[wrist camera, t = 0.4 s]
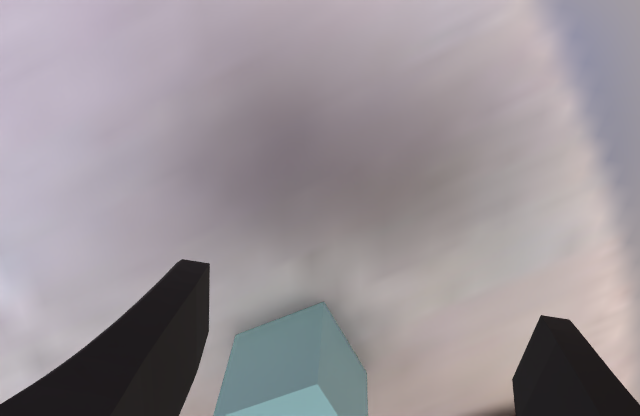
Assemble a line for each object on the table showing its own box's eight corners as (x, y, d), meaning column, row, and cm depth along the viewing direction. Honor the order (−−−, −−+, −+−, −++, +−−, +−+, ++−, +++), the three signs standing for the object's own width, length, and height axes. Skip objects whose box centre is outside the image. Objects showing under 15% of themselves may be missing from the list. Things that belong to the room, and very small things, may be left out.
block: (282, 400, 28) (269, 492, 24) (235, 334, 27) (212, 419, 22) (366, 372, 27) (368, 462, 23) (323, 300, 25) (317, 384, 21)
